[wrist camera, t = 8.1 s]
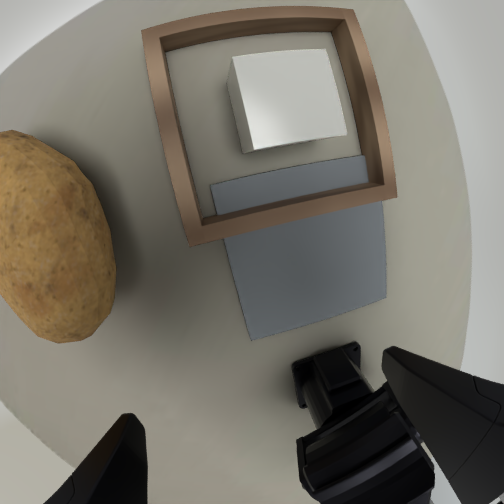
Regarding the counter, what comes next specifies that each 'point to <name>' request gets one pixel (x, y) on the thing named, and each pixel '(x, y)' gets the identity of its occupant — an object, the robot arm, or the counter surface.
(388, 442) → the robot arm
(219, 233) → the bin
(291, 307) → the mat
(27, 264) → the potato
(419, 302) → the counter surface
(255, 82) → the white cube
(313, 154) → the counter surface
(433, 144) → the counter surface
